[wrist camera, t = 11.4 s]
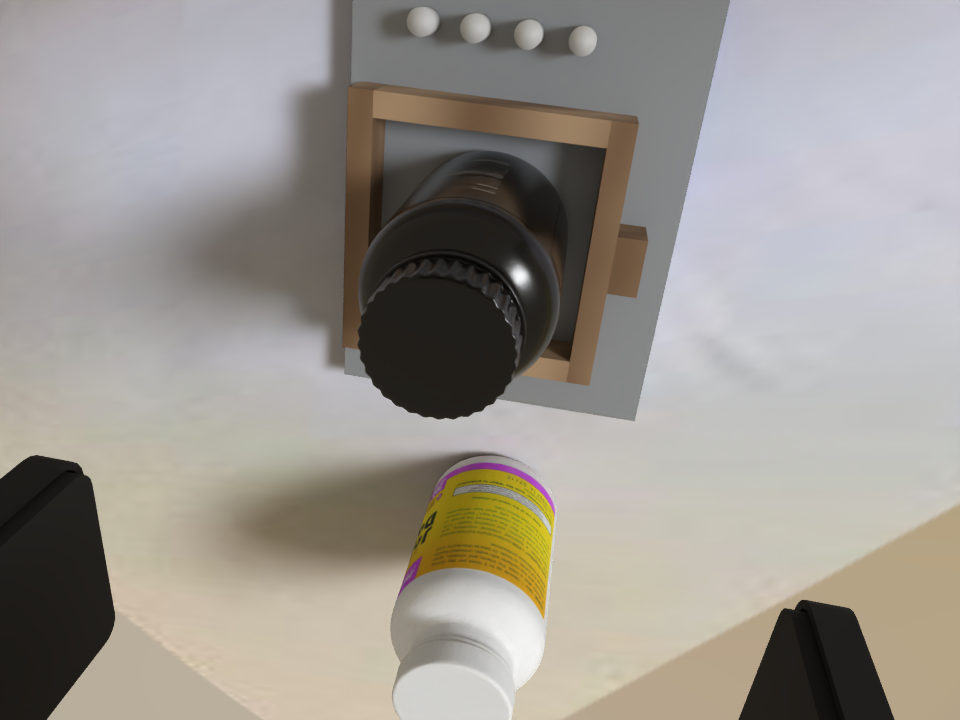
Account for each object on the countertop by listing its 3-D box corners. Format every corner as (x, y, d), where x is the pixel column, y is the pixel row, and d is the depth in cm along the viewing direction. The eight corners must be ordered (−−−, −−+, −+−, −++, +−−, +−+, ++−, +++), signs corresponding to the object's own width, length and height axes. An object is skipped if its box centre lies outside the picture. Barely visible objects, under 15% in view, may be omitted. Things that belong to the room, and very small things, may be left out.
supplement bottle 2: (437, 440, 39) (367, 628, 27) (565, 460, 38) (548, 660, 27) (430, 542, 42) (365, 749, 30) (549, 561, 41) (528, 780, 30)
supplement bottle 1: (388, 261, 34) (287, 386, 23) (450, 118, 30) (366, 186, 20) (525, 329, 34) (489, 483, 23) (600, 195, 31) (598, 303, 20)
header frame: (668, 120, 29) (672, 128, 28) (616, 369, 34) (617, 390, 32) (363, 81, 30) (347, 87, 29) (355, 328, 35) (342, 346, 34)
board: (726, -5, 28) (736, -4, 26) (633, 408, 36) (635, 436, 34) (362, -46, 29) (342, -49, 27) (351, 363, 38) (335, 387, 35)
